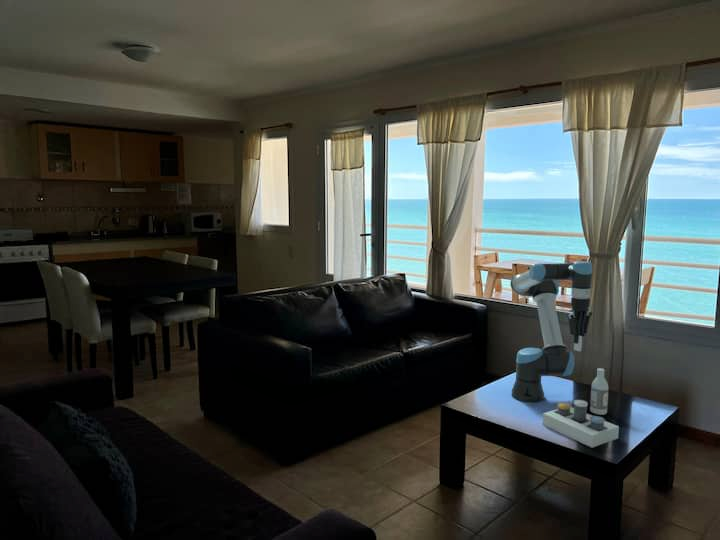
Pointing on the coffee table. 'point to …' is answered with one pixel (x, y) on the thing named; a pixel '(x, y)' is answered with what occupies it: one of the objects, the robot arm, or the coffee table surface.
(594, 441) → the mount
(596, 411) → the bath foam
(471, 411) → the coffee table surface
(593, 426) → the knob
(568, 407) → the knob
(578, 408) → the knob
